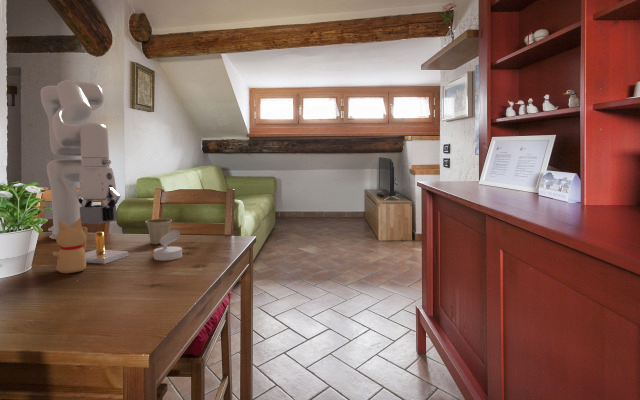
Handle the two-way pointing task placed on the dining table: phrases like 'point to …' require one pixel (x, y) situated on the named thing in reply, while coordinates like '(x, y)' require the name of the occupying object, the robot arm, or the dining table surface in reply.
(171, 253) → the wall hook
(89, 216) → the grey square box
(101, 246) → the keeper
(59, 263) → the figurine
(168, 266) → the dining table surface
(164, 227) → the flower pot
